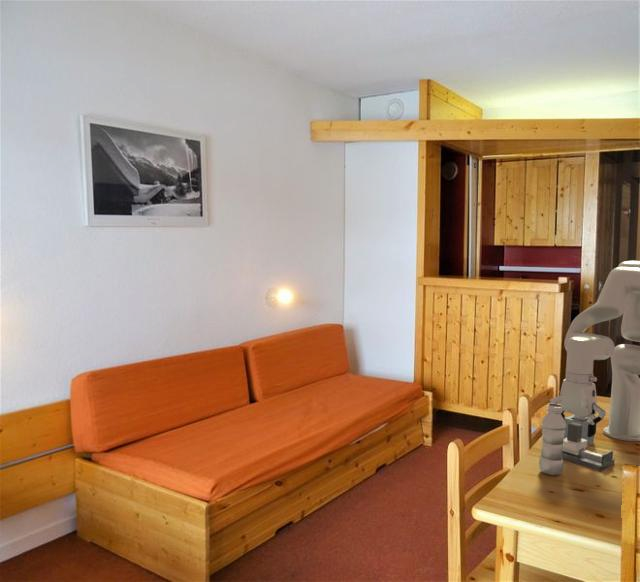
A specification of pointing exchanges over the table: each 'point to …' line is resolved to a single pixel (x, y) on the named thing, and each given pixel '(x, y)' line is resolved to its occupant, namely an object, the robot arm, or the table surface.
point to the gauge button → (579, 418)
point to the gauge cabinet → (584, 429)
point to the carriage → (574, 439)
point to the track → (591, 459)
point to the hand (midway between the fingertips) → (575, 431)
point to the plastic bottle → (552, 441)
